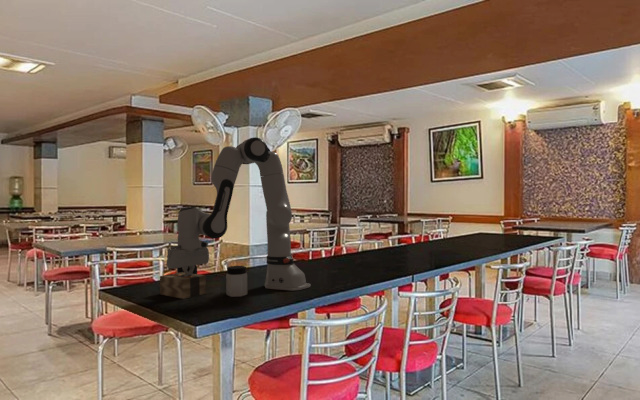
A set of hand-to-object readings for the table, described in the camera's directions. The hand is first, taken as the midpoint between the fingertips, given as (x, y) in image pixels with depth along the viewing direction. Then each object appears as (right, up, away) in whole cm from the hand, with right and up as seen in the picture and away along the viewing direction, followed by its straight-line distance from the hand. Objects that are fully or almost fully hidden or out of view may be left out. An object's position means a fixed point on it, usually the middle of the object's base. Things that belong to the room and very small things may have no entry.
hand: (188, 276), depth 202 cm
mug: (-6, -8, +22) cm, 24 cm away
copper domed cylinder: (0, -8, 0) cm, 8 cm away
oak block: (-3, -8, +2) cm, 9 cm away
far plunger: (-6, -7, +5) cm, 11 cm away
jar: (+21, -8, 0) cm, 22 cm away
